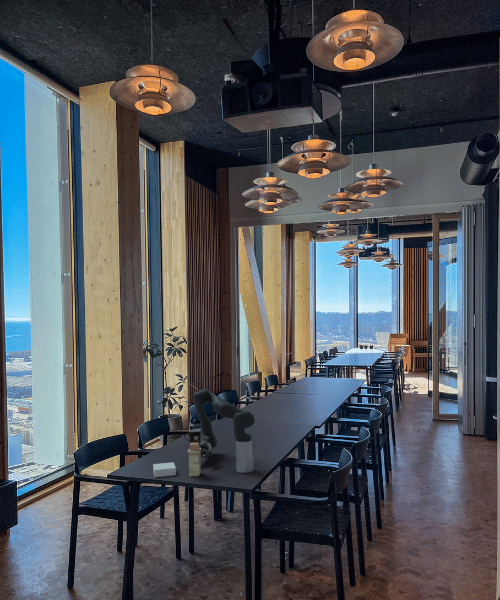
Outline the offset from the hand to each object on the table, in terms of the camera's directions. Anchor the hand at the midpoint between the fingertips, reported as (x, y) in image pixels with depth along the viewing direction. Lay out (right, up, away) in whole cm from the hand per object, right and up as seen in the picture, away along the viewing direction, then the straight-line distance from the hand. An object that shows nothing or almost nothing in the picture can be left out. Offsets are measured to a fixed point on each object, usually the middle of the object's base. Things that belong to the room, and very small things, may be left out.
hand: (198, 456), depth 289 cm
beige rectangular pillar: (-1, -7, -11) cm, 13 cm away
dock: (-19, -7, -7) cm, 22 cm away
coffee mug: (-10, -11, +57) cm, 59 cm away
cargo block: (-1, +7, -11) cm, 13 cm away
